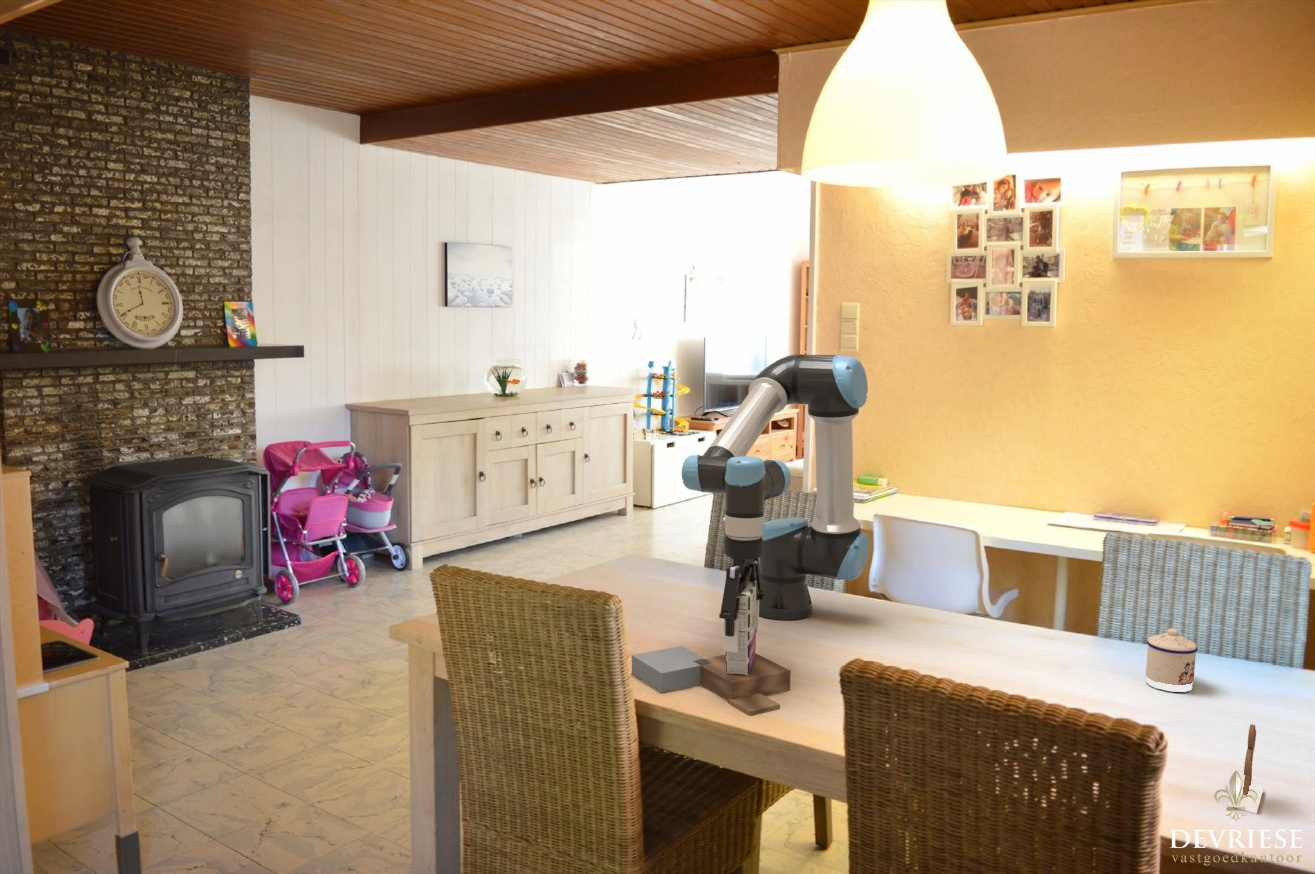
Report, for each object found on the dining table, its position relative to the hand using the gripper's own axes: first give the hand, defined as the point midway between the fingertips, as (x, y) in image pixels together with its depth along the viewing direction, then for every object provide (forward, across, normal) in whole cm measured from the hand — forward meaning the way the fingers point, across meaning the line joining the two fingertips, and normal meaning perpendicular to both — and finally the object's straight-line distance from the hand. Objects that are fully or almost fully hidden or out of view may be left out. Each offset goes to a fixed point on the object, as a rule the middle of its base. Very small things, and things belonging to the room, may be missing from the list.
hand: (741, 640), depth 201 cm
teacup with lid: (+9, -36, +80) cm, 88 cm away
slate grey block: (+9, +2, -14) cm, 17 cm away
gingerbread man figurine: (+9, +14, +86) cm, 88 cm away
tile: (+9, +9, +6) cm, 14 cm away
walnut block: (+9, 0, 0) cm, 9 cm away
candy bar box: (+5, 0, 0) cm, 5 cm away
